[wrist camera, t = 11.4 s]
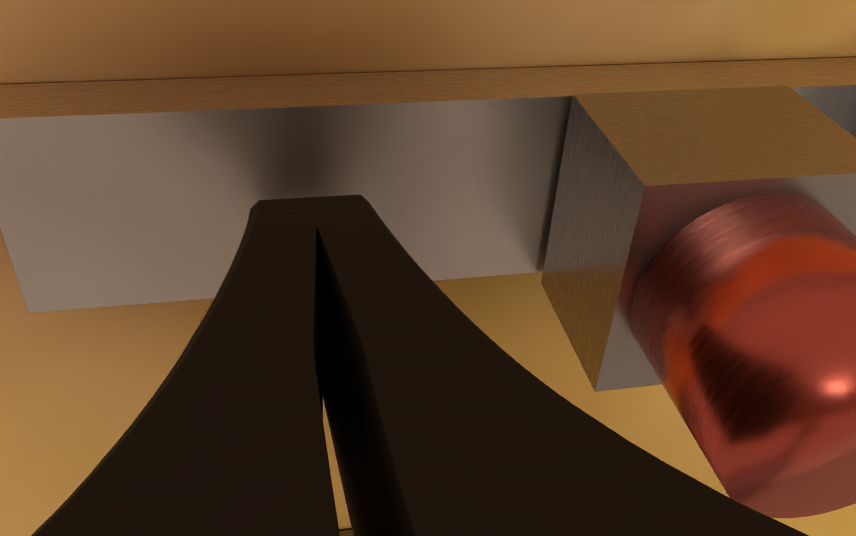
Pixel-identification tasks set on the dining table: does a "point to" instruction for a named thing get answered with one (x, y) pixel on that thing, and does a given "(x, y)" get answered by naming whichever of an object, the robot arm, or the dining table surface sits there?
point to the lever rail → (309, 165)
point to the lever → (719, 277)
